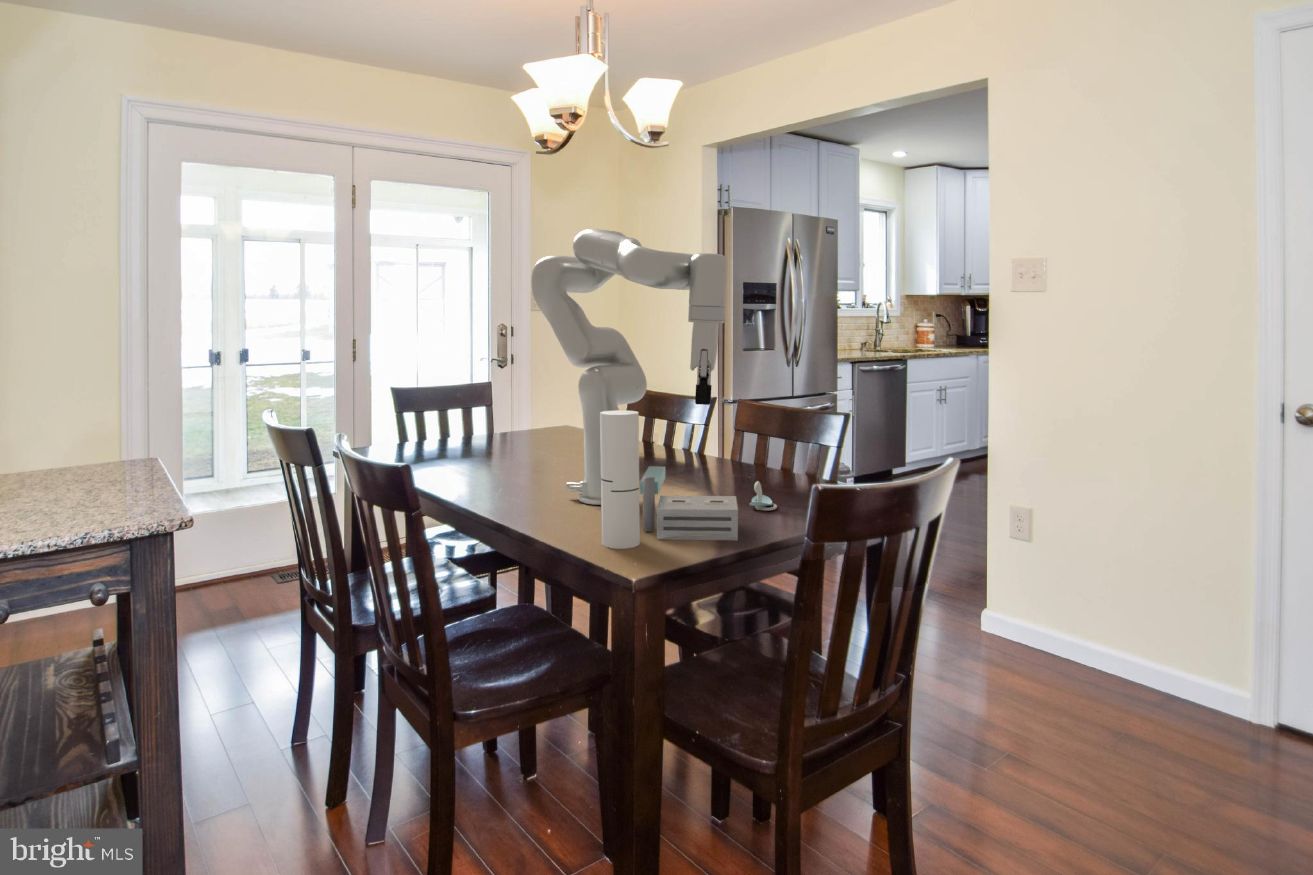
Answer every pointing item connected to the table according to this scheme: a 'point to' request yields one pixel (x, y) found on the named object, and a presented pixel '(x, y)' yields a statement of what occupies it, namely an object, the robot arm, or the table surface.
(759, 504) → the pacifier
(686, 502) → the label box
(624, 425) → the cylindrical container
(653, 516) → the swing bar
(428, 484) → the table surface
